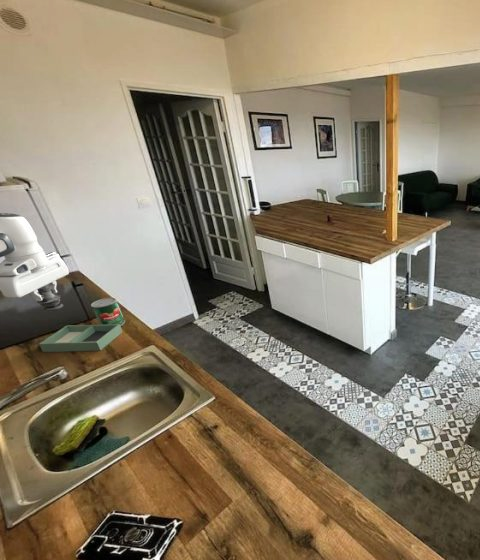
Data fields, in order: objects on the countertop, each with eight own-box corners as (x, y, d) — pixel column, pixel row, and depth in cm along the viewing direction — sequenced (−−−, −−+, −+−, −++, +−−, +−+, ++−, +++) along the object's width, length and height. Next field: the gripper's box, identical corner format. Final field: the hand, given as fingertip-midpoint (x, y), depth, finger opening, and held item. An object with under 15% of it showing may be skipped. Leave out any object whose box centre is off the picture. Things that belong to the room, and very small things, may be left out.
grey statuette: (64, 302, 116) (49, 272, 110) (64, 308, 112) (49, 278, 107) (41, 307, 112) (25, 277, 107) (41, 313, 108) (24, 283, 103)
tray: (100, 350, 116) (96, 342, 115) (43, 352, 115) (38, 343, 113) (122, 331, 127) (119, 324, 125) (70, 333, 125) (66, 325, 124)
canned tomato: (114, 318, 136) (104, 296, 131) (130, 320, 135) (121, 298, 130) (96, 328, 128) (85, 306, 124) (112, 330, 128) (102, 307, 123)
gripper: (46, 250, 113) (63, 284, 119) (-15, 273, 95) (8, 311, 101) (65, 250, 113) (81, 283, 119) (7, 273, 95) (29, 311, 101)
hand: (47, 296), depth 110 cm, fingers closed on grey statuette, 3 cm apart
